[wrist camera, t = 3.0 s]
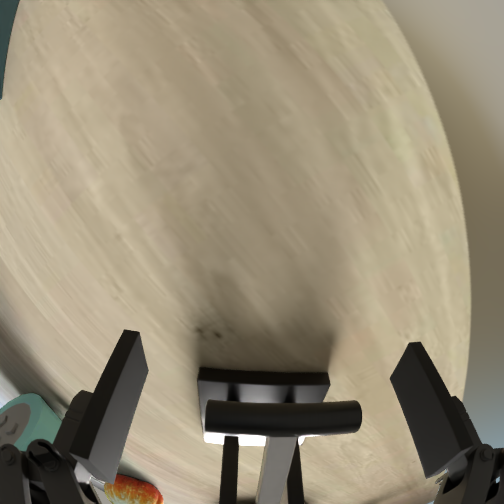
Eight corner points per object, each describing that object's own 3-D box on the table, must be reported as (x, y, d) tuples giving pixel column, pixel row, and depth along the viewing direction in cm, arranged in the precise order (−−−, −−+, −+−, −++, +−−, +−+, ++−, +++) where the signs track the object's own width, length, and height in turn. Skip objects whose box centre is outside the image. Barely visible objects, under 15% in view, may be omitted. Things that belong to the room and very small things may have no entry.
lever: (209, 386, 11) (202, 421, 8) (350, 388, 11) (370, 419, 8) (211, 527, 12) (209, 552, 10) (299, 527, 12) (304, 551, 10)
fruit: (180, 496, 35) (166, 529, 29) (144, 481, 40) (130, 510, 33) (136, 476, 30) (118, 514, 24) (102, 459, 35) (86, 491, 29)
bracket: (199, 366, 18) (170, 547, 7) (328, 371, 19) (361, 542, 7) (205, 432, 23) (191, 553, 11) (300, 435, 23) (311, 554, 11)
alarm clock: (42, 426, 27) (5, 525, 9) (-2, 383, 23) (-54, 485, 5) (117, 433, 24) (81, 579, 6) (59, 380, 21) (-9, 544, 3)
